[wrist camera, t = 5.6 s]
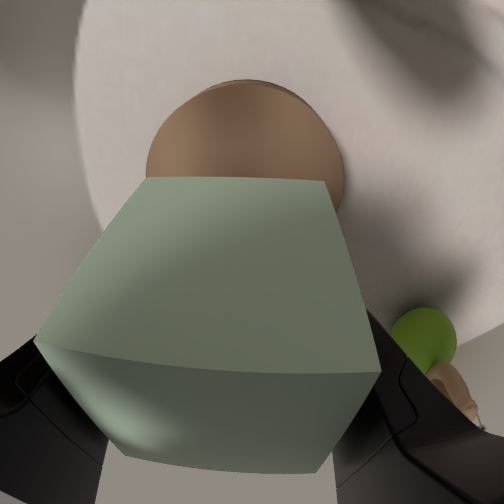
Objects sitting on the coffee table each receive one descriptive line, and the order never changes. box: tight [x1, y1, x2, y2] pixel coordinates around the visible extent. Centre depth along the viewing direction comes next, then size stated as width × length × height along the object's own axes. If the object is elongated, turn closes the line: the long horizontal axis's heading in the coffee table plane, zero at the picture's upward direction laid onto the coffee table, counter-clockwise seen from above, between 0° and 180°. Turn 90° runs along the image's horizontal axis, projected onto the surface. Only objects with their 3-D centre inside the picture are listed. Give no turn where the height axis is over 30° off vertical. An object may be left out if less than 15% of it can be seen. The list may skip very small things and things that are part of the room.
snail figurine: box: [390, 308, 486, 431], centre depth 18 cm, size 5×6×12 cm
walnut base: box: [146, 79, 344, 213], centre depth 15 cm, size 9×9×3 cm
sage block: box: [34, 177, 381, 474], centre depth 8 cm, size 5×5×6 cm
